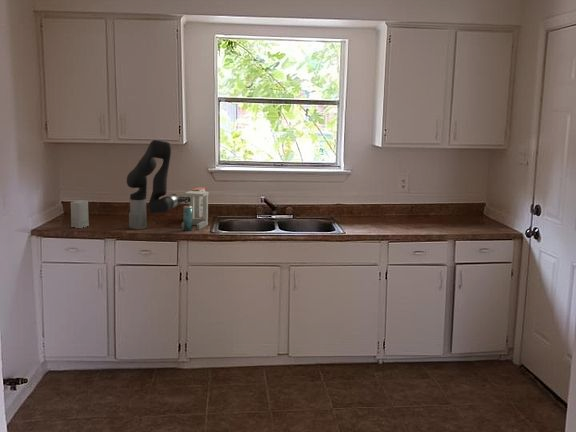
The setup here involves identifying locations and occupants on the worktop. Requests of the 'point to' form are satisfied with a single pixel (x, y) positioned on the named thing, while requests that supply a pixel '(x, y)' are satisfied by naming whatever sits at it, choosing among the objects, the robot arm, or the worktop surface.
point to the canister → (187, 218)
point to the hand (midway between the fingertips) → (181, 197)
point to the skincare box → (79, 214)
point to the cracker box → (198, 203)
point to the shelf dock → (204, 221)
